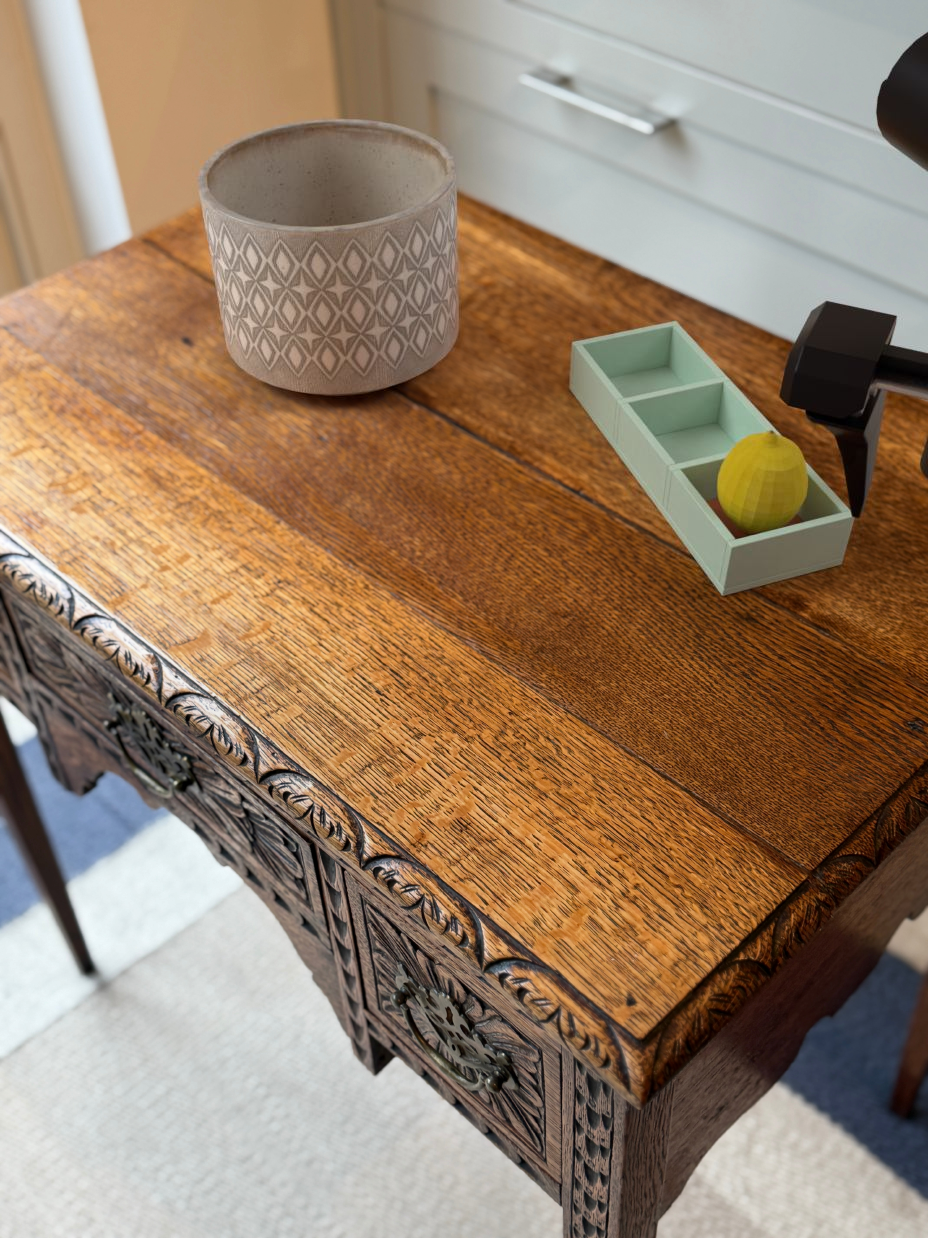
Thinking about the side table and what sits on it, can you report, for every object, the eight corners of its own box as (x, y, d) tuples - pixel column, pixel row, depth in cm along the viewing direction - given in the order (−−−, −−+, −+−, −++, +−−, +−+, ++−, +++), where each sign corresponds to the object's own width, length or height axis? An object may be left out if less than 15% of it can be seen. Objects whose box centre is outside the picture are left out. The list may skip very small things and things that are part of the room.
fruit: (796, 563, 75) (822, 462, 69) (708, 554, 76) (726, 453, 70) (794, 508, 79) (818, 408, 73) (710, 500, 79) (727, 400, 74)
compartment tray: (841, 564, 76) (855, 515, 73) (722, 596, 74) (731, 547, 71) (670, 366, 92) (676, 320, 90) (568, 388, 90) (571, 341, 88)
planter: (446, 278, 103) (442, 111, 92) (472, 400, 89) (471, 220, 79) (230, 294, 101) (202, 125, 91) (225, 420, 88) (191, 239, 78)
